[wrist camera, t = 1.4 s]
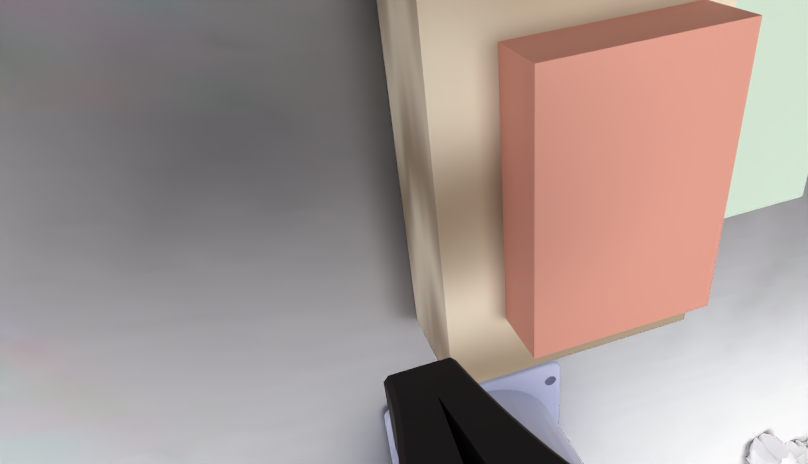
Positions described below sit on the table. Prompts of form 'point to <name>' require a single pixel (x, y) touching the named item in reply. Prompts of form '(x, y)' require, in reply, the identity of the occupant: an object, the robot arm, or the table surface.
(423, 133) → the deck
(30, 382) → the table surface
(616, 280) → the salmon pink block
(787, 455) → the seated beast figurine
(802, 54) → the mat
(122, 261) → the table surface
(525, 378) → the robot arm
